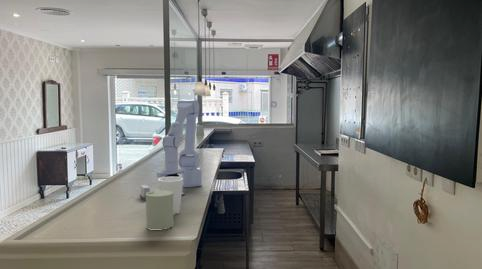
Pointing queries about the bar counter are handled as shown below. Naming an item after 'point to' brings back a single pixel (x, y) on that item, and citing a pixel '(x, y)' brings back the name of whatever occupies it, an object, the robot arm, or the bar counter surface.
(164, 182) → the foam cup
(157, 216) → the can
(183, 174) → the robot arm
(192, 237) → the bar counter surface
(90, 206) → the bar counter surface
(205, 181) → the bar counter surface
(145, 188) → the plate
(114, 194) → the bar counter surface
